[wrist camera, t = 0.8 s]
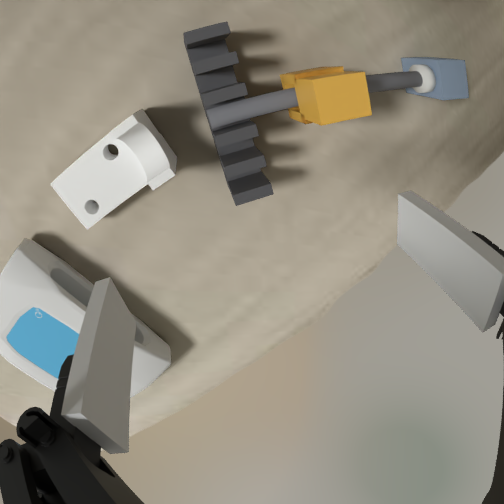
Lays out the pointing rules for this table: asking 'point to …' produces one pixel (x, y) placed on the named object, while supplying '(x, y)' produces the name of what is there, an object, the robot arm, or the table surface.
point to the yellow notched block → (328, 95)
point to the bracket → (116, 169)
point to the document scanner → (59, 319)
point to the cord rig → (284, 102)
